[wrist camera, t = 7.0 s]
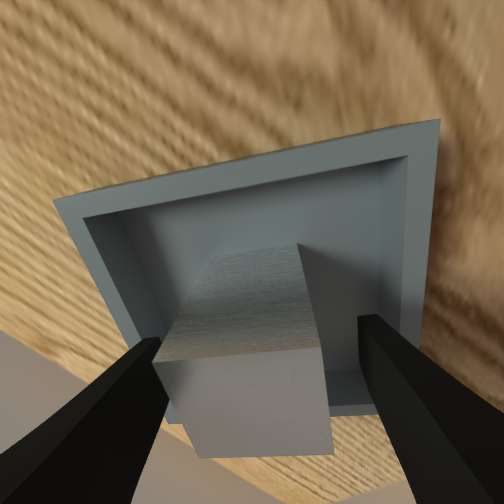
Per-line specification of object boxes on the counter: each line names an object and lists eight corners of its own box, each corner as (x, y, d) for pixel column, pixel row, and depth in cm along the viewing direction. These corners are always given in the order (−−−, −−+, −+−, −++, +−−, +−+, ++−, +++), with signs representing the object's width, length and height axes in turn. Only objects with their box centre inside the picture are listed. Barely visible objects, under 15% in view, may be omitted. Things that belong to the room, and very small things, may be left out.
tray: (390, 368, 14) (413, 412, 12) (183, 383, 16) (168, 424, 14) (398, 124, 9) (440, 118, 7) (97, 188, 11) (52, 200, 9)
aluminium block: (307, 315, 12) (334, 454, 7) (230, 324, 13) (198, 458, 7) (296, 242, 11) (321, 347, 5) (210, 256, 11) (151, 362, 6)
